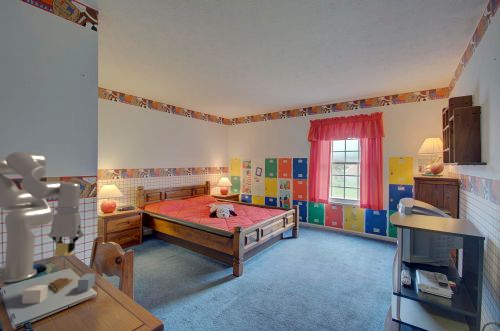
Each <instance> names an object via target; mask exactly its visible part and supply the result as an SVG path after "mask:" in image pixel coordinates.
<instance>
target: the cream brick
mask: <svg viewBox="0 0 500 331" xmlns="http://www.w3.org/2000/svg"><path fill="white" fill-rule="evenodd" d="M48 289H49V284H38V285H37V284H35V285H32V284H31V285H29V286H28V287H26V288H24V289H23V290H22V299H21V300H22V301H21V303H22V304H41V303H42V302H43V301H44V300H46V299H47V298H48Z"/></svg>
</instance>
